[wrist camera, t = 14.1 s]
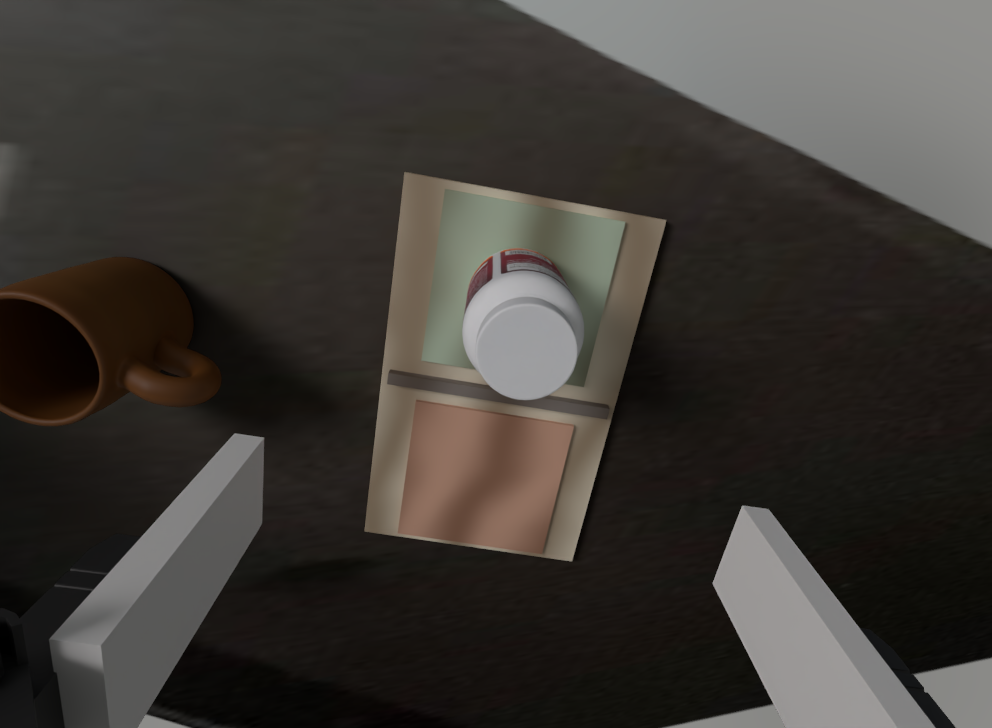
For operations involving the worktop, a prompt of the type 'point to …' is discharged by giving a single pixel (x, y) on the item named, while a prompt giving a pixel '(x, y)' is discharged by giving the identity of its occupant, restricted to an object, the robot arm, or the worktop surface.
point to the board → (466, 395)
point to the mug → (98, 342)
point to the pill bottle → (522, 324)
